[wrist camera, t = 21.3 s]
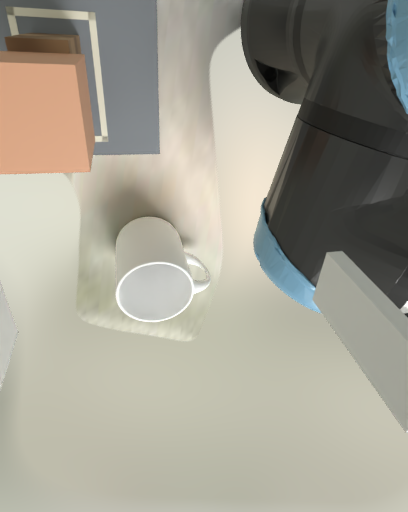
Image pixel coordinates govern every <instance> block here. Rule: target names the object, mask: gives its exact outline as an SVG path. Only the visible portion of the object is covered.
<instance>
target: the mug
mask: <svg viewBox="0 0 408 512" xmlns="http://www.w3.org/2000/svg"><path fill="white" fill-rule="evenodd" d="M188 264H193V265H197V266H199V267H201V268H202V269H203V270H204V271H205V272H206V279H205V280H201V281H197V280H193V279H192V276H191V272H190V269H189V266H188ZM115 270H116V301H117V304H118V305H119V307H120V308H121V310H122V311H123V312H124V313H125V314H127V315H128V316H130V317H131V318H134V319H136V320H140V321H145V322H157V321H163V320H167V319H170V318H172V317H174V316H176V315H178V314H179V313H181V312H182V311H183V310H184V309H185V308H186V307H187V306H188V305H189V303H190V302H191V300H192V297H193V294H195V293H198V292H200V291H202V290H204V289H205V288H207V287H208V285H209V284H210V280H211V278H210V274H209V271H208V270H207V268H206V266H205V265H204V264H203V263H202V262H201V261H200V260H199V259H198V258H196V257H195V256H193V255H192V254H190V253H187V252H185V251H184V249H183V246H182V242H181V239H180V236H179V234H178V232H177V231H176V229H175V228H174V227H173V226H172V225H171V224H170V223H169V222H167V221H166V220H163V219H161V218H157V217H141V218H137V219H135V220H133V221H131V222H129V223H128V224H126V225H125V226H124V227H123V228H122V230H121V231H120V233H119V235H118V237H117V240H116V248H115Z"/></svg>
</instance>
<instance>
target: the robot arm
mask: <svg viewBox="0 0 408 512" xmlns="http://www.w3.org/2000/svg"><path fill="white" fill-rule="evenodd" d="M241 38H242V46H243V51H244V55H245V58H246V61H247V64H248V66H249V68H250V70H251V72H252V74H253V76H254V77H255V79H256V80H257V81H258V83H260V85H261V86H262V87H263V88H264V89H265V90H267V91H268V92H269V93H271V94H273V95H274V96H276V97H278V98H281V99H283V100H285V101H287V102H291V103H295V104H301V107H300V110H299V113H298V115H297V117H296V120H295V123H294V125H293V128H292V131H291V133H290V136H289V139H288V141H287V144H286V147H285V149H284V152H283V155H282V157H281V160H280V163H279V165H278V168H277V171H276V174H275V176H274V179H273V182H272V184H271V187H270V190H269V192H268V195H267V197H266V198H264V200H263V202H262V205H261V215H260V218H259V221H258V225H257V228H256V231H255V235H254V242H253V243H254V251H255V254H256V257H257V259H258V260H259V262H260V266H261V268H262V269H263V271H264V272H265V273H266V275H267V276H268V277H269V279H270V280H271V281H272V282H273V283H274V284H275V285H276V286H277V287H278V288H280V290H282V291H283V292H284V293H285V294H287V295H288V296H289V297H291V298H292V299H294V300H295V301H297V302H298V303H300V304H301V305H303V306H305V307H307V308H309V309H311V310H314V311H316V312H319V313H322V314H323V315H324V317H325V318H326V320H327V321H328V323H329V324H330V326H331V327H332V328H333V330H334V331H335V333H336V334H337V335H338V337H339V338H340V340H341V341H342V343H343V344H344V345H345V347H346V348H347V350H348V351H349V352H350V354H351V355H352V357H353V358H354V360H355V361H356V362H357V364H358V365H359V367H360V368H361V370H362V371H363V372H364V374H365V375H366V377H367V378H368V380H369V381H370V382H371V384H372V385H373V387H374V388H375V389H376V391H377V392H378V394H379V395H380V396H381V398H382V399H383V401H384V402H385V404H386V405H387V407H388V408H389V409H390V411H391V412H392V414H393V415H394V416H395V418H396V419H397V421H398V422H399V423H400V425H401V426H402V428H403V429H404V431H405V432H406V433H407V432H408V0H244V4H243V9H242V17H241ZM17 335H18V330H17V327H16V324H15V321H14V318H13V316H12V313H11V310H10V307H9V305H8V302H7V299H6V296H5V294H4V291H3V288H2V285H1V282H0V390H1V387H2V383H3V380H4V377H5V374H6V370H7V367H8V364H9V361H10V358H11V354H12V351H13V347H14V345H15V341H16V338H17Z"/></svg>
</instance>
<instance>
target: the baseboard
mask: <svg viewBox="0 0 408 512" xmlns="http://www.w3.org/2000/svg"><path fill="white" fill-rule="evenodd" d="M26 33H47V34H65V35H79V38H80V46H81V54H84V55H85V63H86V71H87V79H88V87H89V95H90V103H91V111H92V119H93V127H94V135H95V145H94V151H93V155H121V154H160V148H159V101H158V53H157V5H156V0H0V51H7V47H6V43H5V38H4V37H7V36H13V35H19V34H26Z"/></svg>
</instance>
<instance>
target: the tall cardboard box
mask: <svg viewBox="0 0 408 512" xmlns="http://www.w3.org/2000/svg"><path fill="white" fill-rule="evenodd" d="M4 38H5V43H6V47H7V51H17V52H42V53H66V54H81V46H80V38H79V35H65V34H47V33H26V34H19V35H13V36H7V37H4Z"/></svg>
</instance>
